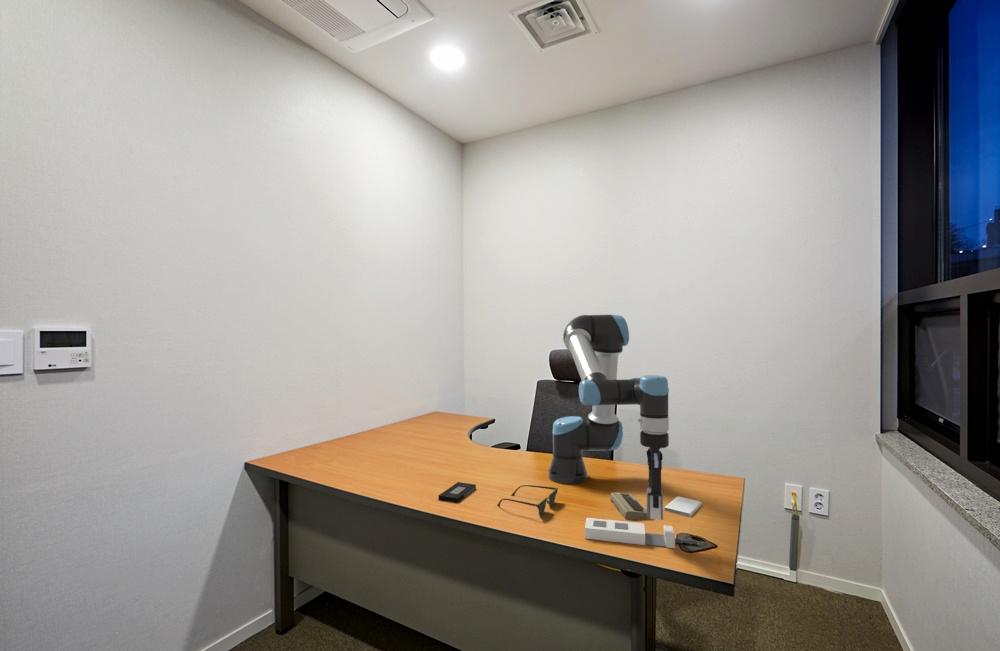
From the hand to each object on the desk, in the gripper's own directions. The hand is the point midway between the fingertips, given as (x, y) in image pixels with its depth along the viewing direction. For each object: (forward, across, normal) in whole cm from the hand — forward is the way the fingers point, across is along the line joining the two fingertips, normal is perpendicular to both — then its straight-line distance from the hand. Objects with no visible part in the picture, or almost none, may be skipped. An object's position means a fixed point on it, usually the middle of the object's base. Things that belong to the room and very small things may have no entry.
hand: (654, 515), depth 128 cm
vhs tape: (+7, -20, -66) cm, 69 cm away
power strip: (+7, 0, -4) cm, 8 cm away
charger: (0, 0, 0) cm, 0 cm away
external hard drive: (+8, -26, +11) cm, 30 cm away
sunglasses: (+8, -16, -40) cm, 44 cm away
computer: (+8, -21, -6) cm, 24 cm away
